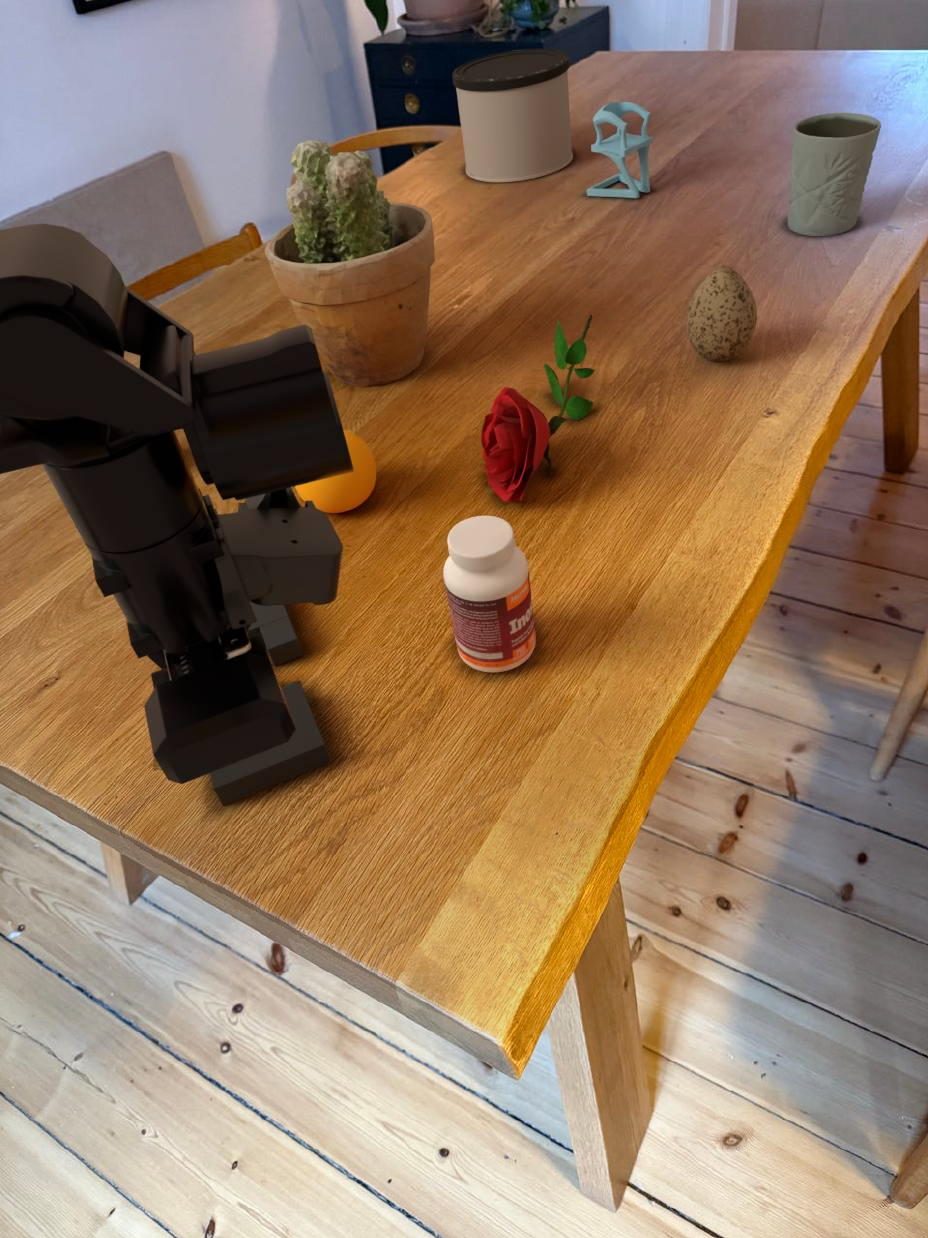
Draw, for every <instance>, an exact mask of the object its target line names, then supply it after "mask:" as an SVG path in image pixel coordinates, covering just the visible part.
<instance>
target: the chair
mask: <svg viewBox="0 0 928 1238" xmlns="http://www.w3.org/2000/svg"><path fill="white" fill-rule="evenodd" d="M630 112H635V113H636V114H638V115H639V116H640V117H641V118H643V123H642V125H641V128H640V134H641V135H637V134H631V133H628V132H627V127H628V122H625V121H624V120H623V116H624V115H625V114H627V113H630ZM651 114H652V113H651V112H650V111H647V110H646V109H645V108H644V107H643V106H641V104H639V103H636V102H631V101H623V102H617V101H612V102H609V103H606V104H605V105H603V106H602V107H601V108H599V110H598V111H597V112H596V113H595V114H594V116H593V117H592V122H593V126H594V129H595V132H596V141H595V143H593V144H590V148H591V152H593V153H599V154H602V155H603V156H606V157H608V158H609V159H611V160H612V161H613V162H614V164H615V165H616V167H617V169H618V170H619V172H620V173H617V174H614V175H613V176H611V177H608V178H607V179H604V180H602V181H600V182H599V183H596V184H594V185H592V186H590V187H588V188H586V196H588V197H605V198H626V199H639V198H640V192H642V193H646V194H648V193H651V184H650V169H649V168H650V167H649V149H650V146H651V145H653V144H654V137H653V136H649V133H648V125H649V121H650V118H651ZM603 124H611V125H613V126H615V127H616V129H617V130H616V133H615V134H612V135H611V136H609V137H607V138H605V139H604V137H603V132H602V129H601V127H600V126H602V125H603ZM636 151H637V155H638V160H639V167H640V168H639V171H640V181H639V180H637V179H636V178H633V177H632V175H631V172H630V170H629V168H628V166H627V164H626V157H627V156H630V155H632V154H633V153H635V152H636ZM617 182H621V183H623V184H626V185H627V187H628V188H607V187H609V186H611V185H613V184H616V183H617Z"/></svg>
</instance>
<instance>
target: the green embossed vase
mask: <svg viewBox="0 0 928 1238" xmlns="http://www.w3.org/2000/svg"><path fill="white" fill-rule="evenodd" d="M881 128H882V123H881V121H880V119H878V118H876V117H874V116H871V115H868V114H863V113H857V112H829V113H822V114H817V115H813V116H808V117H805V118H802V119H800V120H799V121H796V123H795V124H794V125H793V127H792V143H791V165H790V175H789V177H790V179H789V180H790V181H789V197H788V204H789V207H788V210H787V227H788V229H789V230H791V231H792V232H794V233H796V234H799V235H804V236H808V237H828V236H834V235H841V234H843V233H846V232H848V231H850V230H852V229H853V228H854V227H855V226H856V224H857V221H858V217H859V213H860V209H861V204H862V201H863V197H864V196H863V195H864V192H865V187H866V183H867V179H868V175H869V174H870V169H871V166H872V162H873V157H874V156H873V154H874V151H875V149H876V146H877V142H878V139H879V135H880V131H881Z"/></svg>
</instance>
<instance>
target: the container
mask: <svg viewBox="0 0 928 1238" xmlns="http://www.w3.org/2000/svg"><path fill="white" fill-rule="evenodd" d="M569 69H570V56H569V54H568V53H567V52H565V51H562V50H558V49H550V48H525V49H524V48H523V49H517V50H509V51H503V52H498V53H493V54H489V55H486V56H482V57H479V58H476V59H473V60H470V61H467V62H466V63H463V64H462V65H460V66H458V67H456V68H455V69H454V70H453V71H452V74H451V75H452V84H453V86H454V87H455V90H456V98H457V105H458V113H459V114H458V115H459V122H460V128H461V129H460V131H461V138H462V144H463V145H462V146H463V153H464V160H465V173H466V175H467V176H468V177H469V178H471V179H474V180H476V181H480V182H486V183H513V182H514V183H515V182H523V181H528V180H534V179H537V178H540V177H545V176H547V175H550V174H553V173H555V172H558V171H560V170H562V169H564V168H565V167H566V166H568V165H569V164H570V163H571V162H572V160H573V158H574V153H573V150H572V135H571V134H572V132H571V131H572V130H571V112H570V95H569V94H570V93H569V92H570V91H569V74H568V73H569V72H568V70H569Z"/></svg>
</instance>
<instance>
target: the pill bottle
mask: <svg viewBox="0 0 928 1238" xmlns="http://www.w3.org/2000/svg"><path fill="white" fill-rule="evenodd" d="M446 542H447V549H448V554H449V555H448V556H447V559H446V560H445V562H444V566H443V572H442V573H443V582H444V587H445V592H446V598H447V603H448V608H449V614H450V619H451V624H452V629H453V634H454V639H455V644H456V648H457V652H458V655H459V657H460V658H461V660H462V661H463V662H464V663H465V664H466V665H467V666H468V667H470V668H472V669H474V670H477V671H480V672H484V673H502V672H507V671H510V670H513V669H515V668H517V667H519V666H520V665H522V664H524V663H525V662H526V661H527V660H528V659H529V658H530V657H531V655H532V654H533V652H534V649H535V648H536V640H537V638H536V634H537V633H536V626H535V618H534V609H533V598H532V590H531V581H530V571H529V564H528V560H527V557H526V555H525V554H524V552H523V551H522V550H521V548H520V547H519V546H517V545H516V540H515V534H514V529H513V527H512V526H511V524H510V523H509V522H508V521H507V520H505V519H503V518H501V517H498V516H493V515H476V516H472V517H469V518H465V519H463V520H461V521H459V522H458V523H456V524H455V525H454V526H453V527H452V528H451V529H450V531H449V532H448V535H447V541H446Z"/></svg>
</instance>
